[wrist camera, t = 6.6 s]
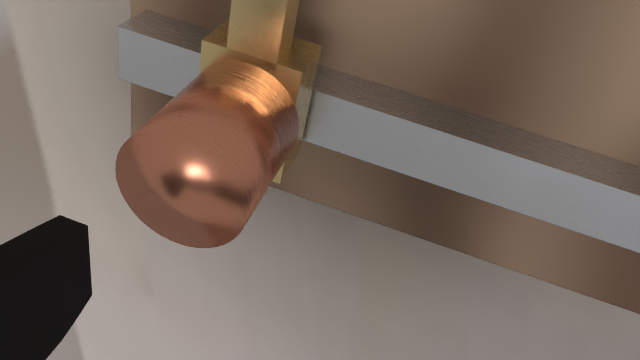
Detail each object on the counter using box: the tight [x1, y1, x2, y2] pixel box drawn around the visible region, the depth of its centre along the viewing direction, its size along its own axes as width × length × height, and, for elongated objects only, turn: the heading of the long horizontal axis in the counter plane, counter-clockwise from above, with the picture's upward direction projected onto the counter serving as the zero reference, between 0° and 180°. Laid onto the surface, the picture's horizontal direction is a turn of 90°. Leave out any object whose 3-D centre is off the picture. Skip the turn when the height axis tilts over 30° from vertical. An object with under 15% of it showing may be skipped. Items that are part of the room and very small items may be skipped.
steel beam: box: [118, 9, 640, 253], centre depth 16 cm, size 21×2×2 cm, turn 78°
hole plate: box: [131, 0, 640, 314], centre depth 15 cm, size 22×13×2 cm, turn 78°
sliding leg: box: [116, 0, 322, 248], centre depth 12 cm, size 3×7×6 cm, turn 168°
